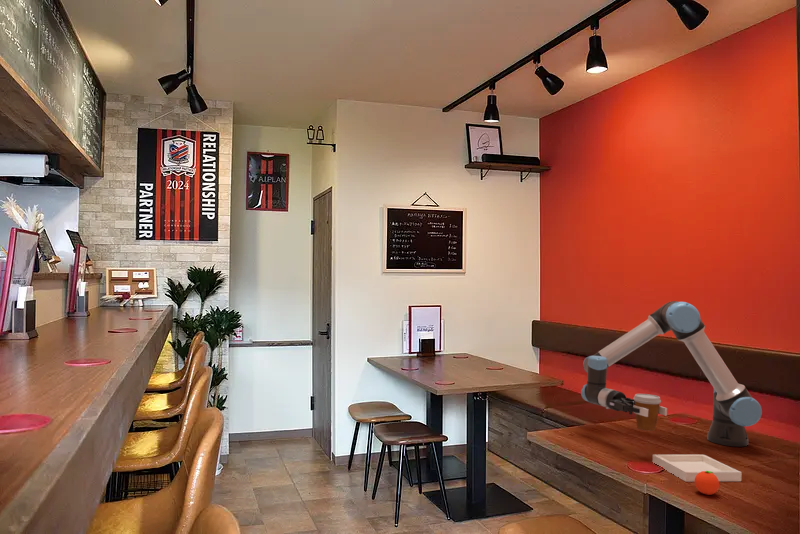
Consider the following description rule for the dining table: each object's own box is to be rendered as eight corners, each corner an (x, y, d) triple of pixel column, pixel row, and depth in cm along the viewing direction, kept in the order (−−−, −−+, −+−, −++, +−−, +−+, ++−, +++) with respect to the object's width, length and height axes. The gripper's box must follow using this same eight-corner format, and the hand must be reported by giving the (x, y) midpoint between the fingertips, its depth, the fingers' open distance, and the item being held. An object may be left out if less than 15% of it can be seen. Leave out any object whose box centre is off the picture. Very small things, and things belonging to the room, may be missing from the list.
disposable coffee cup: (662, 433, 225) (663, 399, 225) (634, 430, 227) (635, 397, 227) (657, 426, 234) (658, 394, 234) (630, 424, 236) (631, 392, 236)
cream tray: (703, 462, 227) (703, 454, 227) (741, 481, 207) (741, 472, 207) (652, 462, 224) (652, 454, 224) (685, 481, 205) (686, 472, 205)
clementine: (701, 488, 199) (702, 465, 199) (724, 494, 194) (725, 471, 194) (690, 493, 194) (690, 470, 194) (713, 499, 188) (714, 476, 188)
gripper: (633, 407, 251) (678, 421, 230) (591, 410, 243) (633, 424, 222) (633, 389, 251) (678, 400, 230) (591, 391, 243) (634, 403, 222)
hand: (656, 412), depth 226 cm, fingers closed on disposable coffee cup, 8 cm apart
